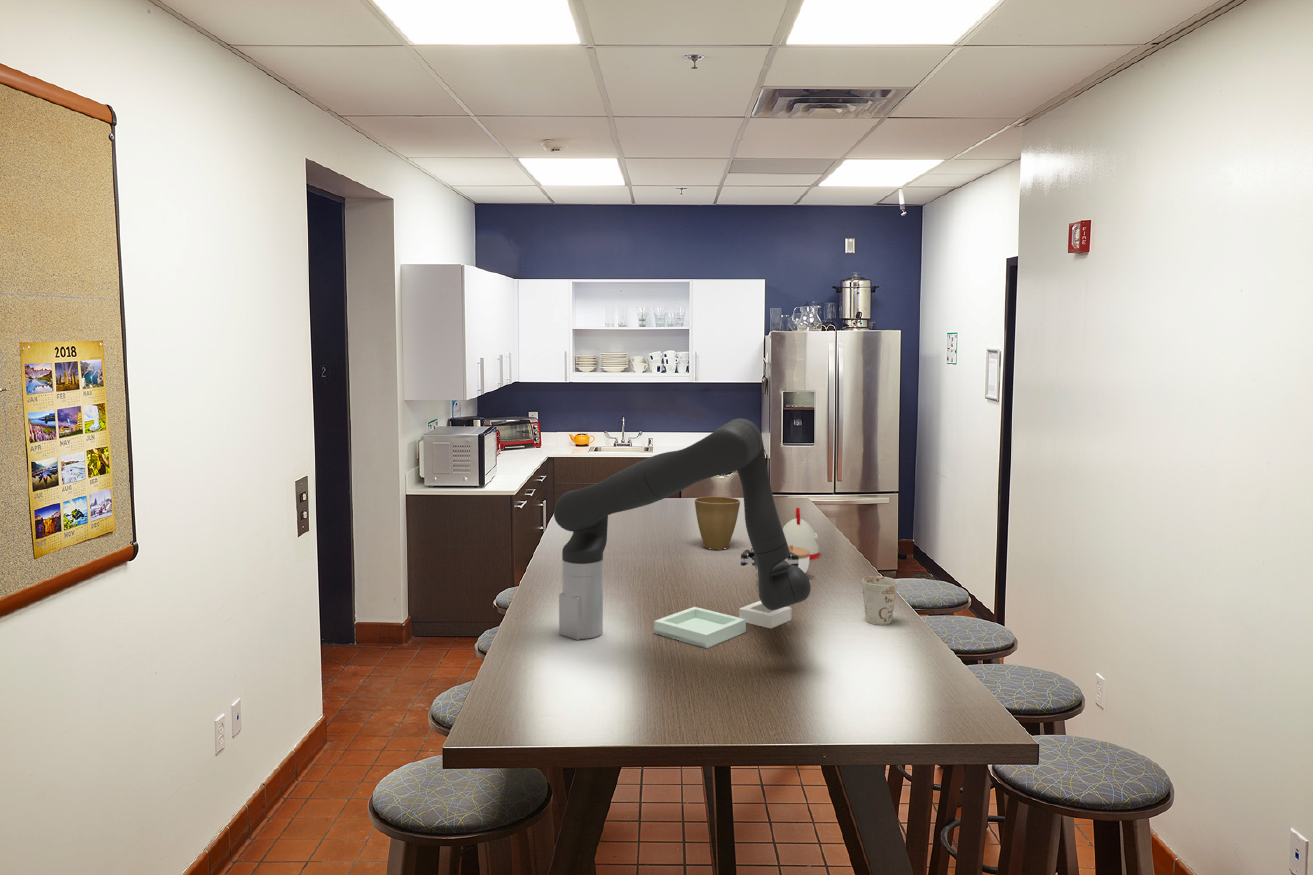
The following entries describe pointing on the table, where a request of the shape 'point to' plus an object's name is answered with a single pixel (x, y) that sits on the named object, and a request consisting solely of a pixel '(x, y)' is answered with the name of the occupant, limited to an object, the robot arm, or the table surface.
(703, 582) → the table surface
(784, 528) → the chicken shaped dome
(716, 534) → the plant pot
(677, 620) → the tray
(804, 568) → the lidded jar
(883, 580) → the mug
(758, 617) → the holder block
